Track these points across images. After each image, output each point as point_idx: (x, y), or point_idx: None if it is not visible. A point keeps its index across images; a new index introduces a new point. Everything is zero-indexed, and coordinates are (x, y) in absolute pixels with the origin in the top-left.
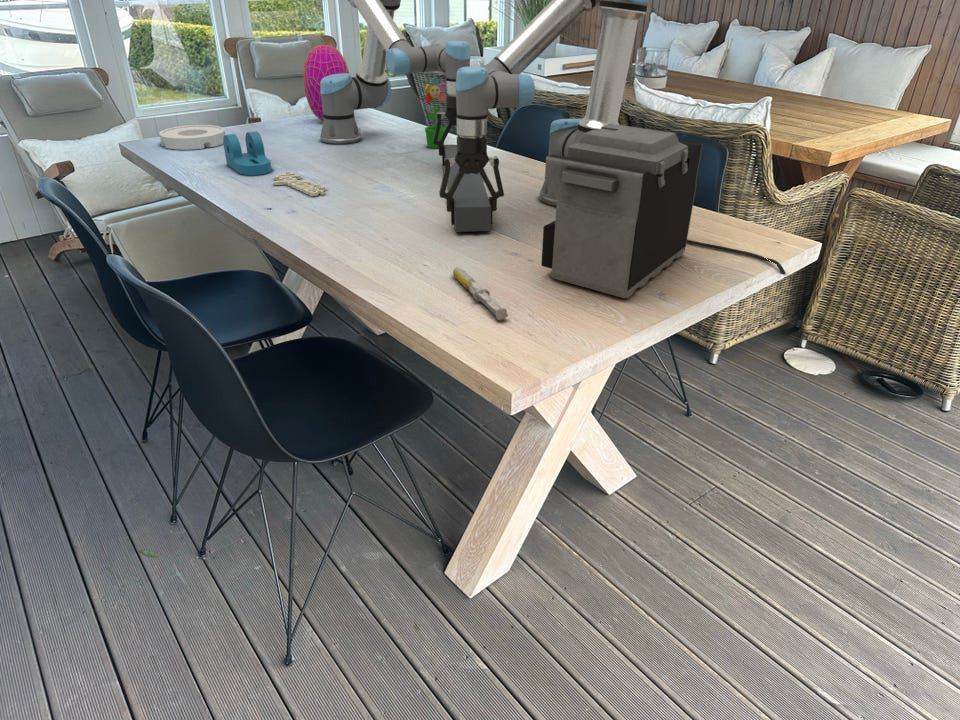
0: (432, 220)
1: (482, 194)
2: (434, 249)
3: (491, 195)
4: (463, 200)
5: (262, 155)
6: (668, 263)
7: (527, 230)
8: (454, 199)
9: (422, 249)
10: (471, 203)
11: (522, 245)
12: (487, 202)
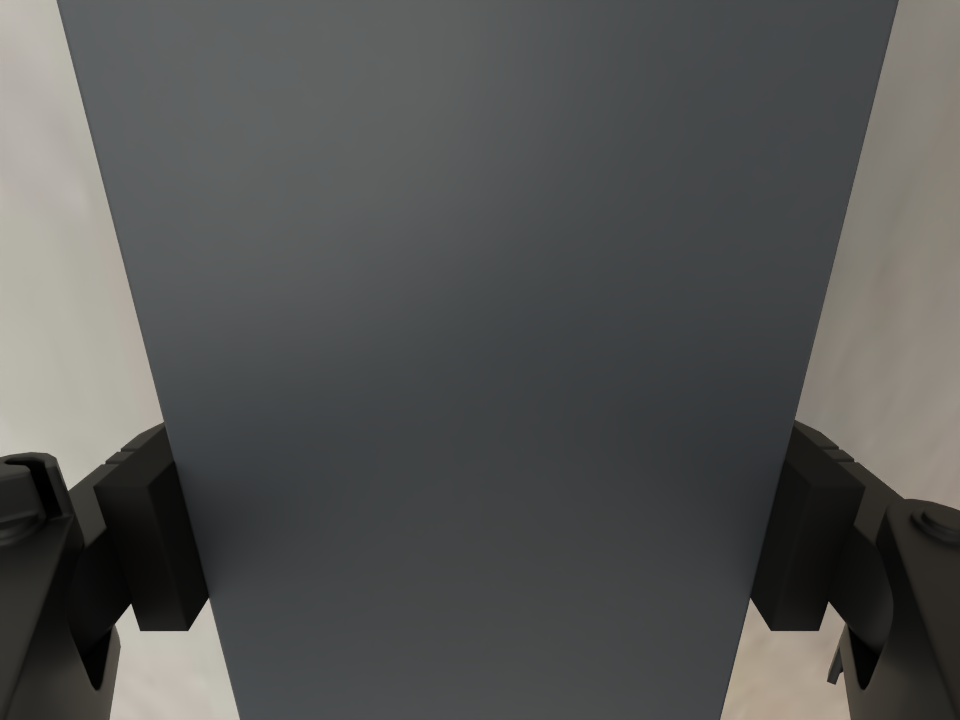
0: (64, 86)
1: (755, 157)
2: (223, 693)
3: (848, 695)
4: (344, 503)
5: None
6: None
7: (948, 421)
8: (183, 446)
9: (147, 691)
10: (468, 628)
11: (783, 666)
12: (715, 598)
